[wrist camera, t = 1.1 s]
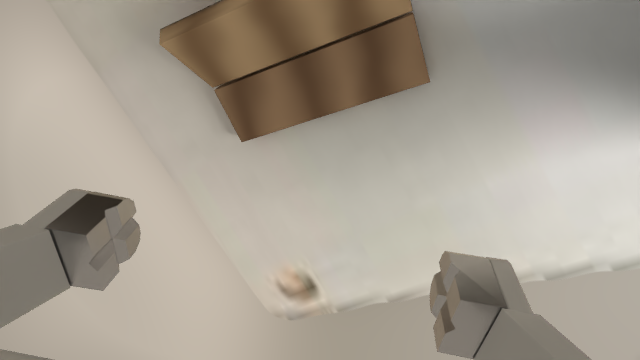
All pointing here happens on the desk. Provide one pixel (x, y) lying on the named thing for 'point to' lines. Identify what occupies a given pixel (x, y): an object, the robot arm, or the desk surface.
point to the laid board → (327, 79)
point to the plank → (266, 32)
